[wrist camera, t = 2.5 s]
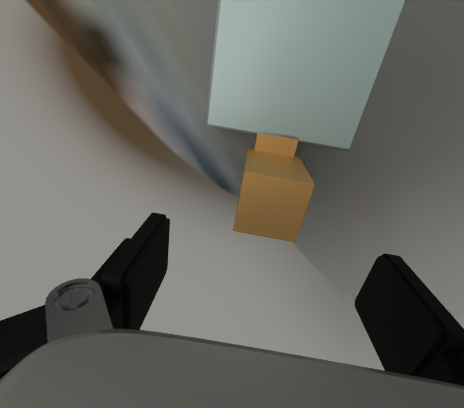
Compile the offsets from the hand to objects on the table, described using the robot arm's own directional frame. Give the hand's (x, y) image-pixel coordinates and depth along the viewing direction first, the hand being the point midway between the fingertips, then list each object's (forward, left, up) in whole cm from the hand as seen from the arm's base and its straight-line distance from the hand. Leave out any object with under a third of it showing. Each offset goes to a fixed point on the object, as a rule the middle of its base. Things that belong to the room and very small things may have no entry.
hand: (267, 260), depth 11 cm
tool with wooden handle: (0, -9, -11) cm, 14 cm away
